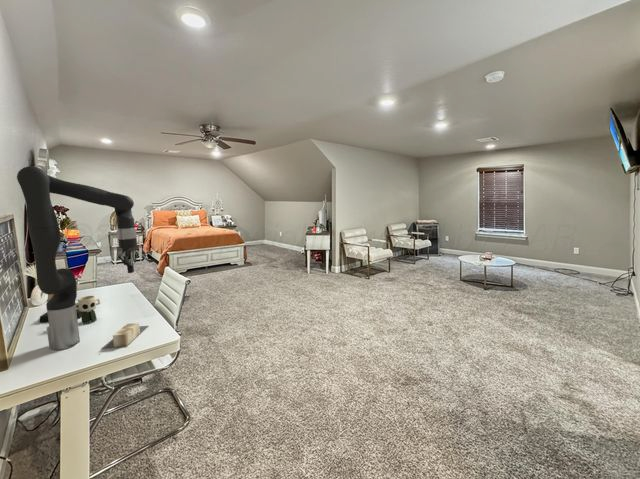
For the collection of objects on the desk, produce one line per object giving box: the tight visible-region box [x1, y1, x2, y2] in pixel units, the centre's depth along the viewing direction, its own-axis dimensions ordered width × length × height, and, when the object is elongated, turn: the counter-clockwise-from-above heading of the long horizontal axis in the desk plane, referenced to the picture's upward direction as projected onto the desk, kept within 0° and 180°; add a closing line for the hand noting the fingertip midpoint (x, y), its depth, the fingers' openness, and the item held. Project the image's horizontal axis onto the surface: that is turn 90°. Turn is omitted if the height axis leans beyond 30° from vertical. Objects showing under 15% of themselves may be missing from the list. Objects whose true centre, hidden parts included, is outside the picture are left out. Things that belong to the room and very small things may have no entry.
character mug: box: [75, 295, 101, 324], centre depth 152 cm, size 11×7×13 cm, turn 141°
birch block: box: [112, 322, 141, 347], centre depth 131 cm, size 5×5×12 cm
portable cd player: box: [38, 305, 83, 324], centre depth 162 cm, size 16×17×4 cm
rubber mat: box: [100, 325, 149, 350], centre depth 134 cm, size 10×22×1 cm, turn 7°
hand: (130, 272), depth 145 cm, fingers closed
